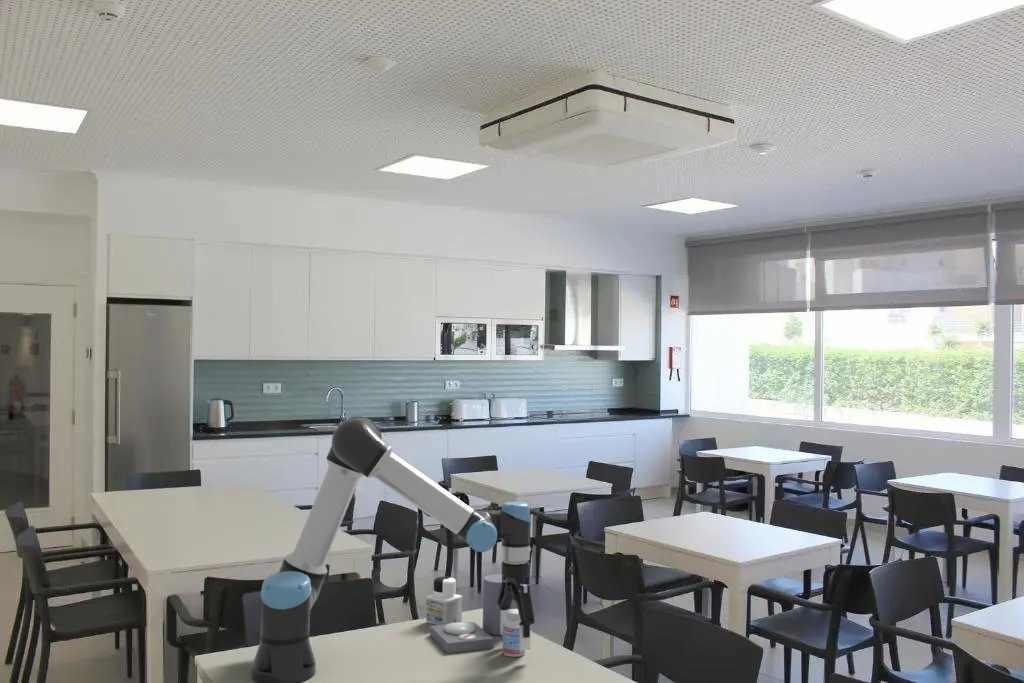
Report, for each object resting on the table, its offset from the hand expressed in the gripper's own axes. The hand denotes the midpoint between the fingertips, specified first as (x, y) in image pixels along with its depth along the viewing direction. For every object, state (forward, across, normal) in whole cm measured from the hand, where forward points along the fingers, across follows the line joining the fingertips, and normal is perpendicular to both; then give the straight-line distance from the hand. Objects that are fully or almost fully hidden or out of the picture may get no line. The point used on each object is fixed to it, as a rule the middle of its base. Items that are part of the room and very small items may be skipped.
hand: (514, 641), depth 225 cm
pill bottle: (+3, 0, 0) cm, 3 cm away
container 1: (+3, +33, +9) cm, 35 cm away
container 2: (+3, +20, -4) cm, 21 cm away
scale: (+3, +14, +10) cm, 18 cm away
